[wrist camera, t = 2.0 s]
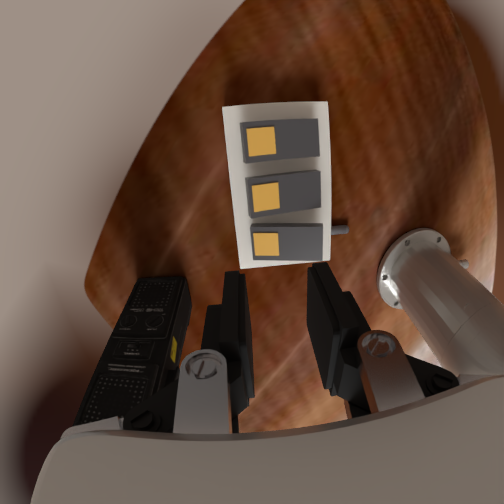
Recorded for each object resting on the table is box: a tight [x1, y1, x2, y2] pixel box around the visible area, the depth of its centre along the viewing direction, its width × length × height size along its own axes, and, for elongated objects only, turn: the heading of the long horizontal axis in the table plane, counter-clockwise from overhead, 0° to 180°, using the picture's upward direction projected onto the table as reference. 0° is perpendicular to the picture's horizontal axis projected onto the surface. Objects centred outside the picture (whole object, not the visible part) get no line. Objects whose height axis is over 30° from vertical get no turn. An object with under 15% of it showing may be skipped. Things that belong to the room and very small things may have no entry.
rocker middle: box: [245, 169, 321, 219], centre depth 26 cm, size 7×4×2 cm, turn 94°
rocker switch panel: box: [222, 102, 349, 269], centre depth 29 cm, size 13×17×3 cm
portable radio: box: [72, 276, 192, 427], centre depth 25 cm, size 8×6×25 cm
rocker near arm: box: [250, 223, 323, 261], centre depth 28 cm, size 7×4×2 cm, turn 95°
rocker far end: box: [240, 118, 320, 164], centre depth 24 cm, size 7×4×2 cm, turn 95°
